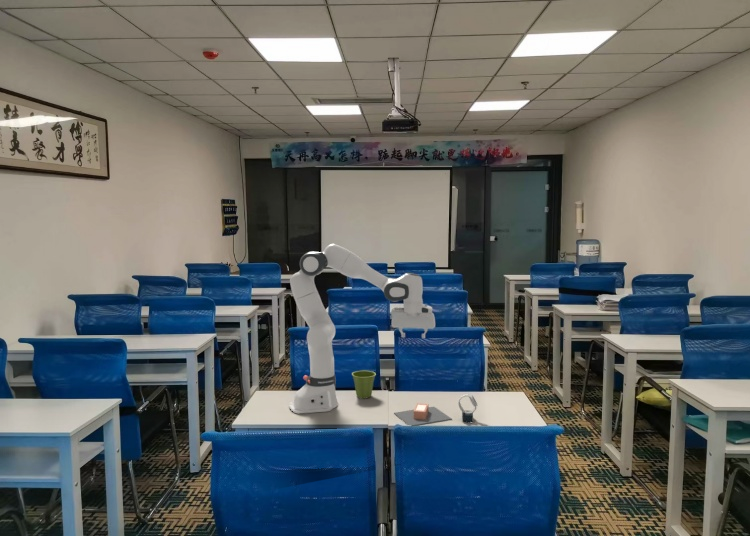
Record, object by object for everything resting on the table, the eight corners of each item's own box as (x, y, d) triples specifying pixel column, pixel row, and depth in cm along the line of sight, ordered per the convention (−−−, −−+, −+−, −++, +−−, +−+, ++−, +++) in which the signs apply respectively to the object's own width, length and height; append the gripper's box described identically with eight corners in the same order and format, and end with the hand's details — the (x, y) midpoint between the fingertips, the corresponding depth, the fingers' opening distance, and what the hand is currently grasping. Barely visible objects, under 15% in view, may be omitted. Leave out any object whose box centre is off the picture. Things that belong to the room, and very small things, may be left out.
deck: (417, 403, 224) (413, 411, 214) (428, 403, 223) (425, 411, 213) (417, 410, 224) (413, 418, 215) (428, 411, 223) (425, 419, 213)
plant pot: (378, 399, 241) (378, 376, 240) (354, 401, 238) (354, 378, 237) (373, 391, 252) (373, 369, 251) (350, 393, 250) (349, 371, 249)
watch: (477, 422, 210) (477, 397, 209) (458, 422, 211) (458, 396, 210) (476, 417, 216) (477, 393, 215) (458, 417, 217) (458, 392, 216)
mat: (409, 426, 207) (409, 425, 207) (393, 413, 222) (393, 412, 222) (451, 419, 214) (451, 418, 214) (433, 407, 229) (433, 406, 229)
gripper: (389, 308, 231) (390, 338, 232) (434, 309, 226) (434, 339, 227) (392, 306, 237) (392, 335, 238) (435, 307, 232) (435, 336, 233)
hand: (413, 337), depth 233 cm, fingers open, 8 cm apart
